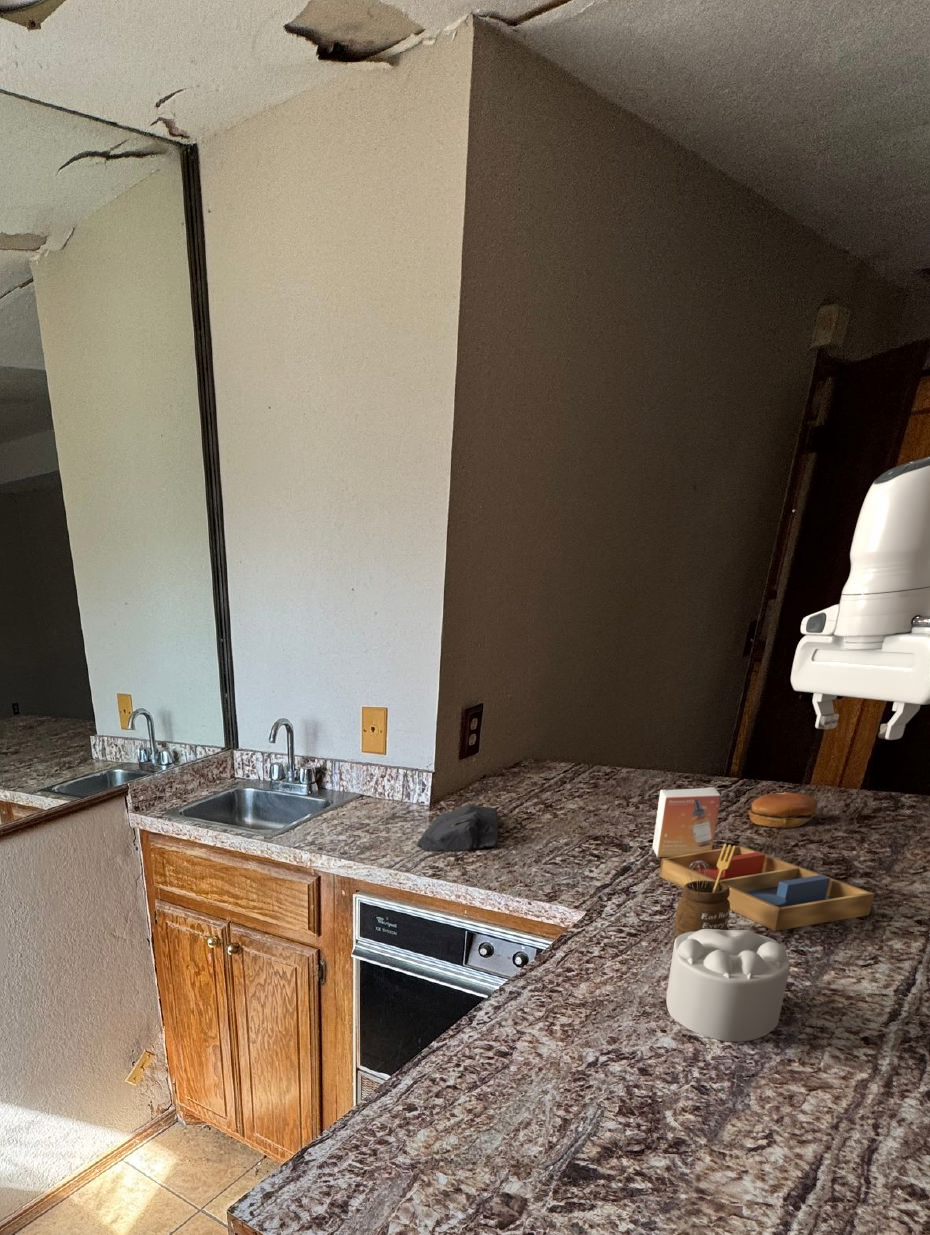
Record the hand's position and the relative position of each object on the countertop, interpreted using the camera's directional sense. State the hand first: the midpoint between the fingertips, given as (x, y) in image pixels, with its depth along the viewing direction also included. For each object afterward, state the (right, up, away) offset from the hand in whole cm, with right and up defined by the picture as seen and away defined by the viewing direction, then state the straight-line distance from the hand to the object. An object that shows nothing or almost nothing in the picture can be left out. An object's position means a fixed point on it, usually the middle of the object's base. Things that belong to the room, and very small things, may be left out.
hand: (856, 733), depth 100 cm
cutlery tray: (-2, -19, +15) cm, 24 cm away
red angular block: (-3, -16, +20) cm, 26 cm away
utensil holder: (-16, -26, +6) cm, 31 cm away
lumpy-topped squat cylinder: (-25, -36, -11) cm, 45 cm away
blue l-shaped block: (-2, -21, +9) cm, 23 cm away
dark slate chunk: (-29, -2, +59) cm, 66 cm away
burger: (+21, -3, +40) cm, 46 cm away
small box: (-1, -10, +34) cm, 35 cm away
